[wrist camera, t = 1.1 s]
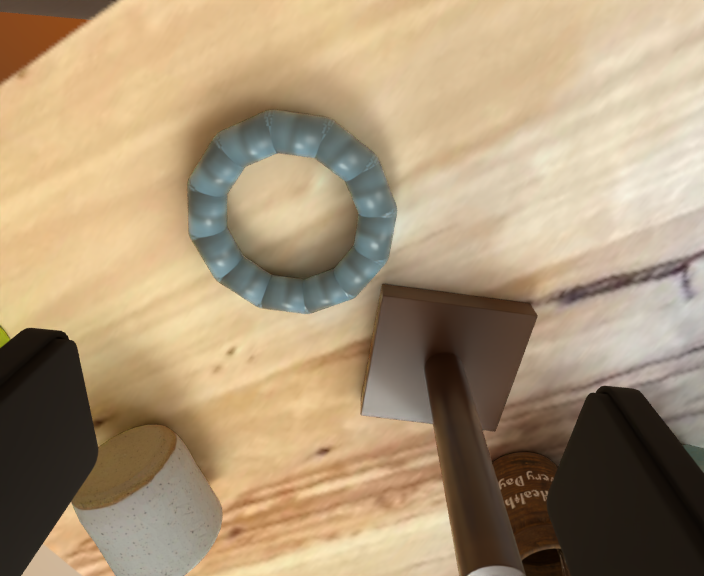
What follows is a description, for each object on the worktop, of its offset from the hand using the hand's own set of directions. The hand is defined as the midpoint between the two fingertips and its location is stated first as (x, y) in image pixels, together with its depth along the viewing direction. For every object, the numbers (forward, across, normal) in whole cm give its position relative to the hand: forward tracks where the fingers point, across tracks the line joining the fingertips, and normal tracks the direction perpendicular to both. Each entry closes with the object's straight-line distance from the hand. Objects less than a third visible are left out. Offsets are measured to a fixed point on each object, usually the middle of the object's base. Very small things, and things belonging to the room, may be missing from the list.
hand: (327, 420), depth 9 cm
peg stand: (+18, -6, +11) cm, 22 cm away
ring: (+17, +3, +2) cm, 18 cm away
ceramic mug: (+18, +13, +23) cm, 32 cm away
